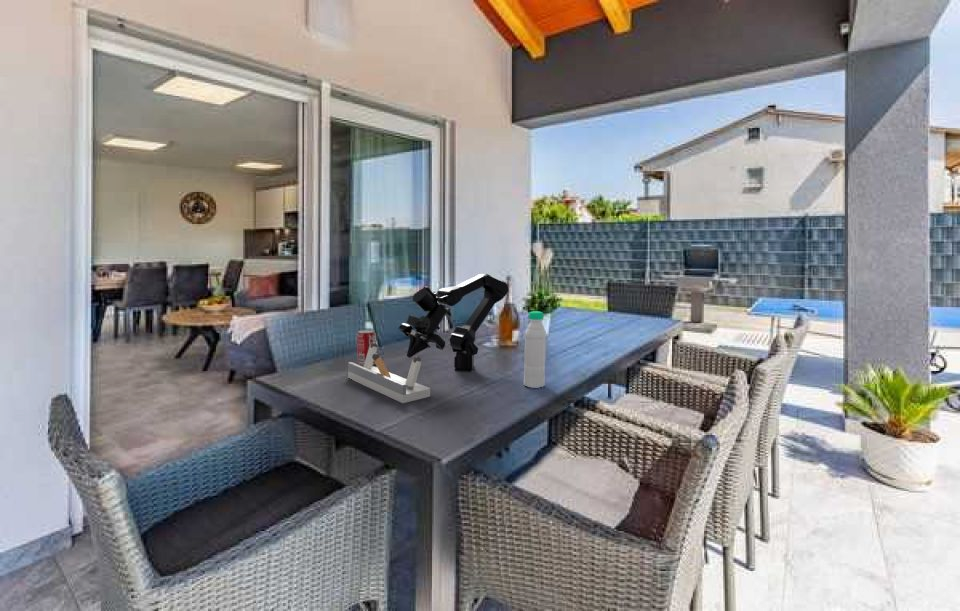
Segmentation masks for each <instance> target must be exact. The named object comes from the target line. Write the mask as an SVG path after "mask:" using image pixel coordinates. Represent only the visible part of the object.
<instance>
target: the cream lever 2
mask: <svg viewBox="0 0 960 611" xmlns="http://www.w3.org/2000/svg"><path fill="white" fill-rule="evenodd" d="M421 365H422V359H421V357H420V356H413V359H412V360H411V364H410V366H409V371H408V374H407V377H406V379H407V380H406V383H405V384H406V387H407V388H409V389H412V390H413V389H414V386H415V383H417V379H418V375H419V373H420V368H421Z"/></svg>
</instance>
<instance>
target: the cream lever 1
mask: <svg viewBox="0 0 960 611" xmlns="http://www.w3.org/2000/svg"><path fill="white" fill-rule="evenodd" d="M377 351H378V344H377V342H376V343H375V342H373V343H371V345H370V346H369V350H368V353H367V356H366V360H365V363H364V366H362V367H365V368H367V369H370V370H371V368H372V367H373V366H374V365H373V361H374V360H373V358H372V356H373V354H375V353H377Z"/></svg>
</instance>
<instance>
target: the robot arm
mask: <svg viewBox="0 0 960 611" xmlns="http://www.w3.org/2000/svg"><path fill="white" fill-rule="evenodd" d="M480 288H483V297H482V299H481V300H480V302H479V304H478V305H477V307H475V309H474V311H473V312H472V314H471V315H470V317H469V318H468V319H467V321H466V322H465V324H464V325H463V326H462V327H461V326H458V325H457V326H456V327H455V328H454V331H453V332H452V333H450V338H449V344H450V347H451V349H452V352H454V353H455V356H454V362H453V365H454V371H455V372H458V371H460V372H470V371H471V372H473V370H474V369H475V367H476V366H475V355H478V353H479V352H478V351H479V348H478V346H477V345H476V344H475V341H476V332H477V331H478V330H479V328H480V326H481V325H482V323H483V322H484V321H485V319H486V317H487V316H488V315H489V313H490V312H491V310H492V308H493V307H494V306H495V304H497V303H499V302H500V301H502V300H503V299H504V298H505V297H506V296H507V295H508V293H509V286H508V283H507V282H506V281H504V280H503V281H502V280H499V279H497V278H495V277H493V276H492V275H490V274H488V273H479V274H477V275H476V276H474V277H471V278H470V279H467V280H465V281H463V282H461V283H459V284H457V285H454V286H447V287H443V288H439V289H438V290H437V291H436V292H435V293H434V292H432V290H431V289H430V287H428V286H423V287H422V289H419V290H418V291H416V292H415V293H414V295H413V296H412V301H413V302H414V304H416V305H417V306H418V307H419V309H421V310H422V312H423V311H424V312H427V313H426V314H425V315H422V316H420V317H416V316H413V315H410V314H409V315H408V317H407V319H406V322H405V323H404V322H403V323H401V324H400V325H399V327H398V330H399V331H400V332H401V333H402V334H403V335H404V336H405V337H407V338H409V346H408V349H407V353H406V357H407V358H409V359H410V358H412V357H415V355H417V354H419V353H420V352H422V351H424V350H426V349H427V348H431V344H432V343H433V344H435V347H436V349H439V350H441V351H443V350H444V349H445V347H446V341H445V340H444V339H443V338H442V337H441V336H440V334H438V333H437V334H436V333H435V331H436V330H437V331H439V330H441V327H440V325H441V323H442V322H443V320H444V317H445V316H446V317H451V316H452V312H451V309H450V308H448V307H454V306H456V305H457V304H458V303H459V302H461V300H462V299H463V298H464V297H465V296H467V295H468V294H471V293H473V292H475V291H477V290H478V289H480ZM446 306H448V307H446Z"/></svg>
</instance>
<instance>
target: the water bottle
mask: <svg viewBox="0 0 960 611" xmlns="http://www.w3.org/2000/svg"><path fill="white" fill-rule="evenodd" d="M528 320H529V323H528V325H527V328H526V330H525V332H524V337H525V338H524V348H523V349H524V351H523V352H524V354H523V355H524V356H523V357H524V358H523V359H524V365H523V386H524V385H525V386H529V387H540V386H544V387H545V385H546V377H545V373H546V366H545V365H546V357H547V354H546V353H547V341H546V340H547V331H546V330H545V326H544V324H543V320H544V312H542V311H539V310H538V311H537V310H534V311H530V312H528ZM525 386H524V387H525Z"/></svg>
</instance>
